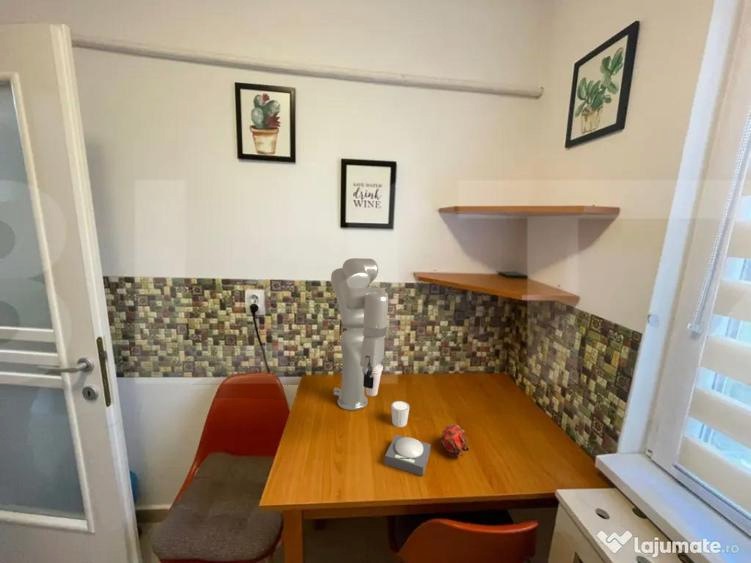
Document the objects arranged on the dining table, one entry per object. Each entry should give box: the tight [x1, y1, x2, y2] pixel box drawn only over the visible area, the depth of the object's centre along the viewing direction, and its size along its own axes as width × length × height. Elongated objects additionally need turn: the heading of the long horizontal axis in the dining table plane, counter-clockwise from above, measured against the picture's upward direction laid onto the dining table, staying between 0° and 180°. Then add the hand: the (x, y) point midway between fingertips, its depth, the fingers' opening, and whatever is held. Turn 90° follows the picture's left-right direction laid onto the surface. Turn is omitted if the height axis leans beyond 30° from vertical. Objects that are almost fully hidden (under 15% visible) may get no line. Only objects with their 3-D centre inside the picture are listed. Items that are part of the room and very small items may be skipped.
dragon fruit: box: [440, 423, 470, 458], centre depth 104 cm, size 8×8×12 cm
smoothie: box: [365, 363, 384, 397], centre depth 102 cm, size 6×6×14 cm
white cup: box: [390, 400, 410, 428], centre depth 117 cm, size 7×7×7 cm
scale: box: [384, 434, 432, 477], centre depth 99 cm, size 12×11×4 cm
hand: (372, 382), depth 103 cm, fingers closed on smoothie, 6 cm apart
